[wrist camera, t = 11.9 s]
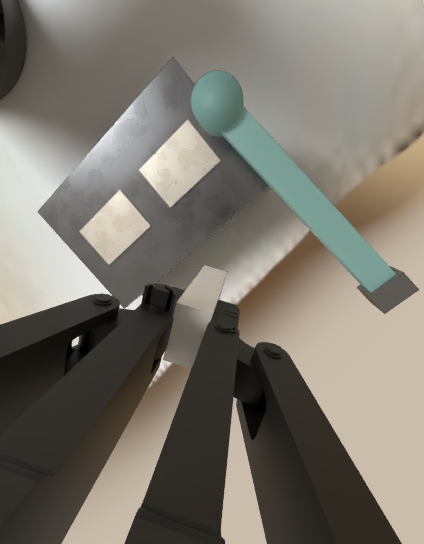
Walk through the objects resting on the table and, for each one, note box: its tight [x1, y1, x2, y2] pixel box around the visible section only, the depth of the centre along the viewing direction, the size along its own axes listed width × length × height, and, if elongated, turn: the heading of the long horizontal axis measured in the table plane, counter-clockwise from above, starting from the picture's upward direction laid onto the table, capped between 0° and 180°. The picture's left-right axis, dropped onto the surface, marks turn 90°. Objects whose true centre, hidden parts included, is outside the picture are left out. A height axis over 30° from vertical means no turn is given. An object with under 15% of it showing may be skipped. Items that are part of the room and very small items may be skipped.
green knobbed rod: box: [191, 71, 419, 314], centre depth 23 cm, size 24×4×3 cm, turn 45°
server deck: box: [38, 57, 269, 309], centre depth 30 cm, size 15×23×8 cm, turn 130°
